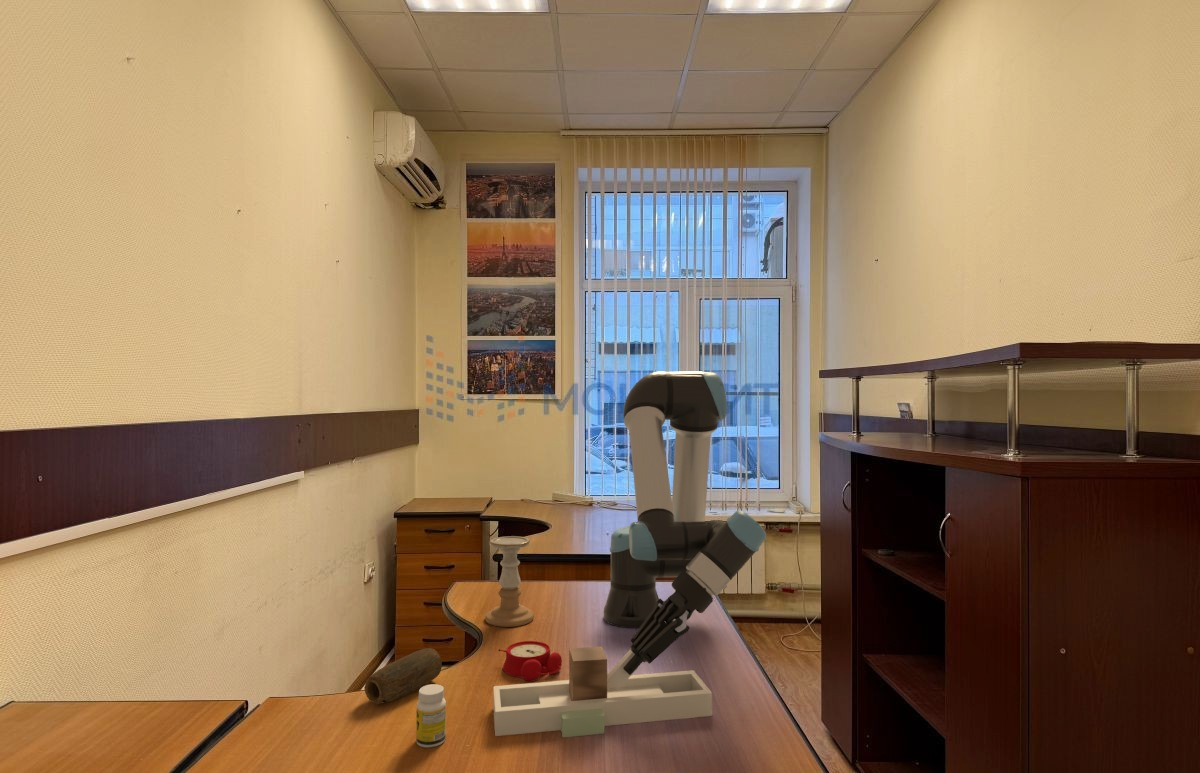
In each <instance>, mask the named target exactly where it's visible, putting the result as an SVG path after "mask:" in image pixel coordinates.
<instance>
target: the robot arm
mask: <svg viewBox="0 0 1200 773" xmlns="http://www.w3.org/2000/svg"><path fill="white" fill-rule="evenodd" d="M723 382H724V381H723V380H722V378H721V376H720V375H719V374H718V373H716V372H708V371H701V370H700V371H697V370H696V371H693V370H692V371H663V370H662V371H654V372H651V373H648V374H646V375H645V376H643V377H642V378H640V379H639V380H638V381H637V382H636V383H635V384H634V386H632V388H631V390H630V391H629V393H628V394H627V397H626V399H625V401H624V402H625V403H624V406H623V413H622V414H623V422H624V423H623V424H624V427H625V428H626V429H627V430H629V431H628V432H629V440H630V442H629V444H630V452H631V461H632V462H631V464H632V472H633V473H632V474H633V475H632V476H633V486H634V494H635V506H636V515H637V521H634V522H631V523H630V525H628V526H624V527H621V528H618V529H616V530H615V531H613V532H612V534H611V537H610V548H609V553H610V587H609V588H610V589H609V593H608V595H607V599H606V603H605V605H604V607H603V620H604V621H605V622H606V623H608V624H610V625H612V626H615V627H620V628H629V629H637V630H636V631H635V633H634V634H633V636H632V637H631V639H630V643H631V645H630V649H629V650H628V651H627V652H626V653H625V655H624V656H623V657H621V659H620V660H619V661H618V662H617V664H616V665H615V666H614V667H613V668H612V670H611V671H609V673H607V680H608V681H609V682H610V683H611V684H612V685H613V686H614V687H615V688H616V689H618V690H619V689H620V687H621V686H622V685H623V684H624V683H625V682H626V681H627V679H628V678H629V677H630V676H631V675H634V674H633V673H635V671H636V670H637V669H638V668H639V667H640V666H641V665H642V664H643V663H648V664H652V663H653V662H654V661H655V660H656V659H657V658H658V657H659V656H660V655H661V654H663V652H665V651H666V650H667V649H668V648H669V647H670V646H671V645H672V644H673V643H674V642H675V641H677V640H678V639H679V638H680V637H681V636H683V635H684V634H686V633H688V632H689V630H690V626H689V625H687V621H688V620H689V619H690V618H691V616H692V614H694V611H696V612H697V613H699V614H703V613H704V612H705V611H706V609H708V608H709V606H710V605H711V604H712V603H713V602H714V597H713V596H715V597H716V596H718V595H719V594H720V593H721V592H722V591H723V590H724V589H727V588H728V586H727V585H728V584H729V583H730V582H731V581H732V579H733V578H734V577H735V576H736V575H737V574H738V573H739V572H740V570H741V569H742V568H743V567H744V566H745V565H746V564H747V563H748V561H749V560H750V559H751V558H752V557H753V555H755V553H757V552H758V551H759V549H760V548H761V546H762V545H763V543H764V542H765V541H766V539H767V533H766V530H765V529H764V528H763V527H762V525H761V524H760V523H759V522H758V521H757V520H755V518H753V517H752V516H751V515H749V514H748V513H746V512H745V511H742V510H736V511H734V513H733V514H732V515H730V517H728V518H727V519H726V521H724V520H722V519H716V520H714V519H713V520H710V521H709V520H707V521H706V512H707V511H706V510H707V509H706V508H707V494H708V493H707V492H708V479H709V466H710V465H709V464H710V451H711V450H710V449H711V435H712V434H713V433H714V432H716V430H718V425H719V423H718V422H719V421H723V420H725V419H726V418H727V416H726V415H727V411H728V403H727V402H728V401H727V393H726V390H725V385H724V383H723ZM666 420H669V426H670V427H671V429H672V430H673V431H674V432H675V439H674V440H675V441H674V457H673V459H674V460H673V479H672V491H671V484H670V476H669V470H668V463H667V456H666V448H665V440H664V432H663V426H664V424H665V422H666ZM671 492H672V493H671ZM657 578H675V579H674V580H673V581H672V582H671V588H673V589H674V590H675V591H674V592H673V593H672V594H671V595H669V596H668V598H666V600H663V599H662V598H659V595H658V592H657V588H656V586H657V584H656V581H657V580H656V579H657Z"/></svg>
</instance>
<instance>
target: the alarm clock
mask: <svg viewBox="0 0 1200 773" xmlns="http://www.w3.org/2000/svg"><path fill="white" fill-rule="evenodd" d="M498 652H504V653H505V660H504V662H503V665H502V670H503V672H504V673H506V674H507V675H508V676H513V677H517V678H523V680H525V681H527V682H534V681H537V680H538V679H539V678H540V677H541V676H545V675H547V676H548V675H556V674H557V673H559V672H560V671H561V670H562V662H563V661H562V660H563V658H562V656H561V654H560V653H559V652H552V653H551V648H550V646H549V644H547V643H544V642H541V641H537V640H536V641H535V640H524V641H519V642H515V643H513V644H510V645H509V646H508V647H507V648H506V650H505V649H504V650H503V649H499V648H498Z"/></svg>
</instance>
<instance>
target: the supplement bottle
mask: <svg viewBox="0 0 1200 773" xmlns="http://www.w3.org/2000/svg"><path fill="white" fill-rule="evenodd" d="M444 696H445V688H444V686H443V685H440V684H437V683H436V684H434V683H433V684H425V685H424V686H422V687H420V688H419V689H418V701H417V703H416V716H415V717H416V721H415V722H416V725H415V726H416V732H415V734H416V735H415V736H416V737H415V738H416V744H417V745H418V747H422V748H434V747H435V748H436V747H438V746H441V745H442V744H443V743H445V741H446V738H447V701H446V699H445V697H444Z"/></svg>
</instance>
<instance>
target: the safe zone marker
mask: <svg viewBox="0 0 1200 773" xmlns="http://www.w3.org/2000/svg"><path fill="white" fill-rule="evenodd" d="M565 680H566V679H563V680H562V679H561V680H560V681H565ZM553 681H554V680H552V681H551V682H553ZM560 731H561V735H562V738H571V737H572V738H573V737H582V736H592V735H602V734H605V726H604V713H603V711H602V709H591V710H579V711H568V712H561V730H560Z"/></svg>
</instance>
